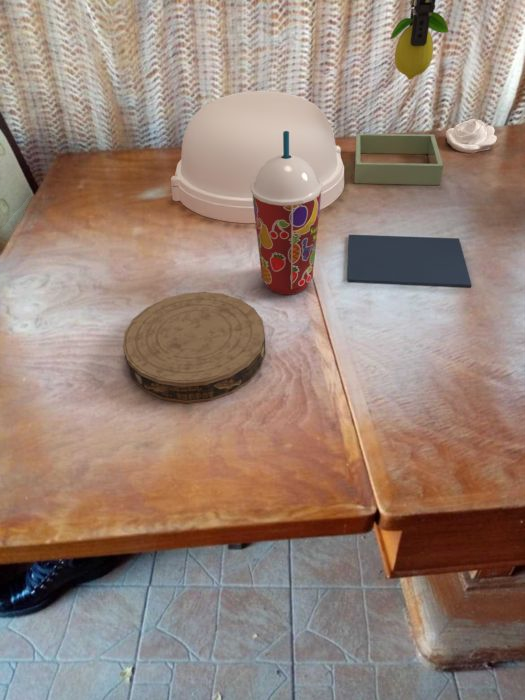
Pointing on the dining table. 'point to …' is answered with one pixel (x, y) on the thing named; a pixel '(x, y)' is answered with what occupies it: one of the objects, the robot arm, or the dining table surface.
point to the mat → (407, 260)
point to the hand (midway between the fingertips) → (416, 40)
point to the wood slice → (195, 347)
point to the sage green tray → (398, 171)
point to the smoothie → (286, 220)
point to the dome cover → (251, 151)
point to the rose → (471, 136)
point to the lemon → (415, 57)
